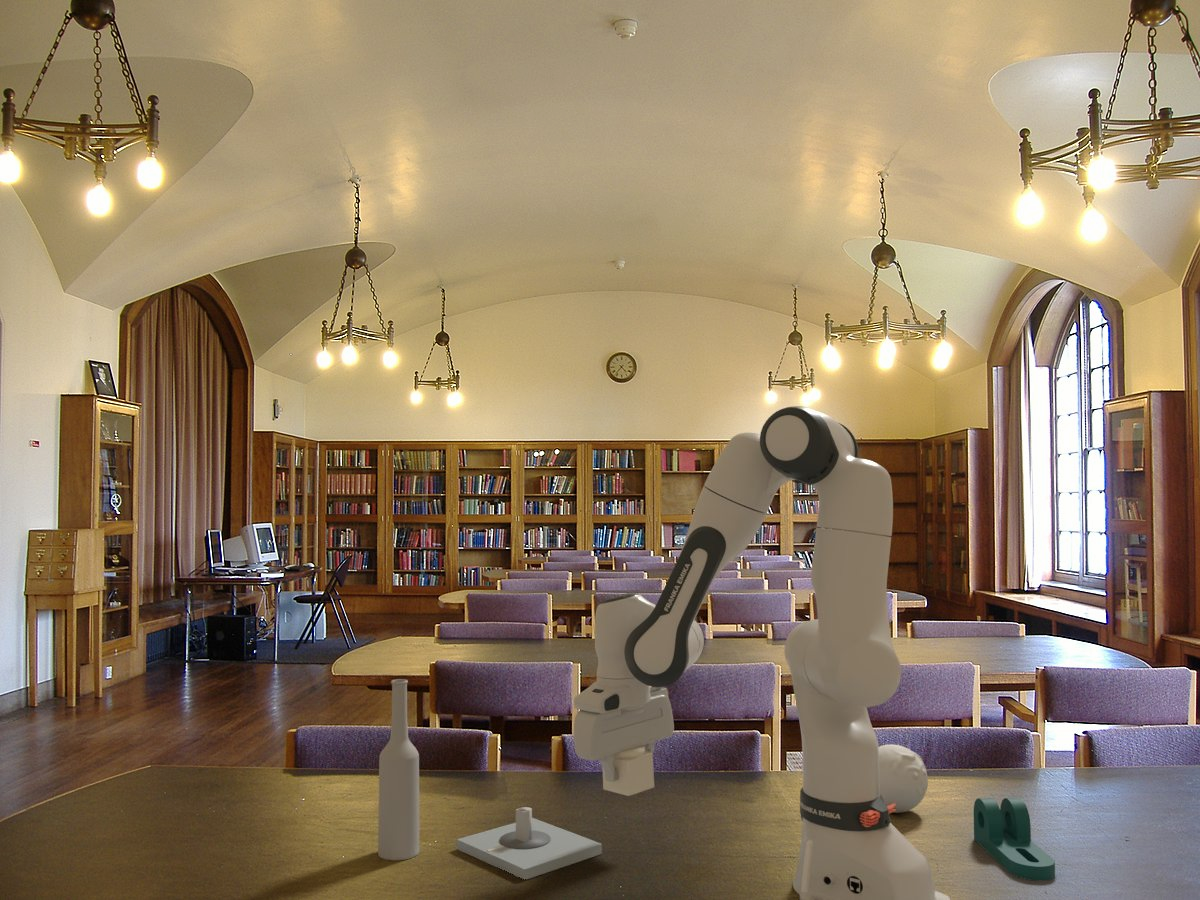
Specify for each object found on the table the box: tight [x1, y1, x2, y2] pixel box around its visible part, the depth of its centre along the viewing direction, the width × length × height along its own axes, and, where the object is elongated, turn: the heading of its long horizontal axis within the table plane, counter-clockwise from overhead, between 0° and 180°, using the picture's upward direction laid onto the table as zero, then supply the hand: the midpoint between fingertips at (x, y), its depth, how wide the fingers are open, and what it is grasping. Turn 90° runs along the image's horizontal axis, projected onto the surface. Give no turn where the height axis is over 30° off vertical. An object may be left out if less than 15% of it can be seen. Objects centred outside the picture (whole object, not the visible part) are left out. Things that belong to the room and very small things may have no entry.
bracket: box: [973, 797, 1056, 881], centre depth 159 cm, size 18×7×8 cm, turn 0°
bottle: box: [377, 678, 420, 862], centre depth 163 cm, size 7×7×28 cm
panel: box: [456, 806, 603, 881], centre depth 163 cm, size 18×16×7 cm
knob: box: [601, 745, 655, 797], centre depth 165 cm, size 6×6×7 cm
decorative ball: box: [878, 743, 929, 814], centre depth 183 cm, size 12×12×12 cm
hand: (628, 775), depth 165 cm, fingers closed on knob, 6 cm apart
